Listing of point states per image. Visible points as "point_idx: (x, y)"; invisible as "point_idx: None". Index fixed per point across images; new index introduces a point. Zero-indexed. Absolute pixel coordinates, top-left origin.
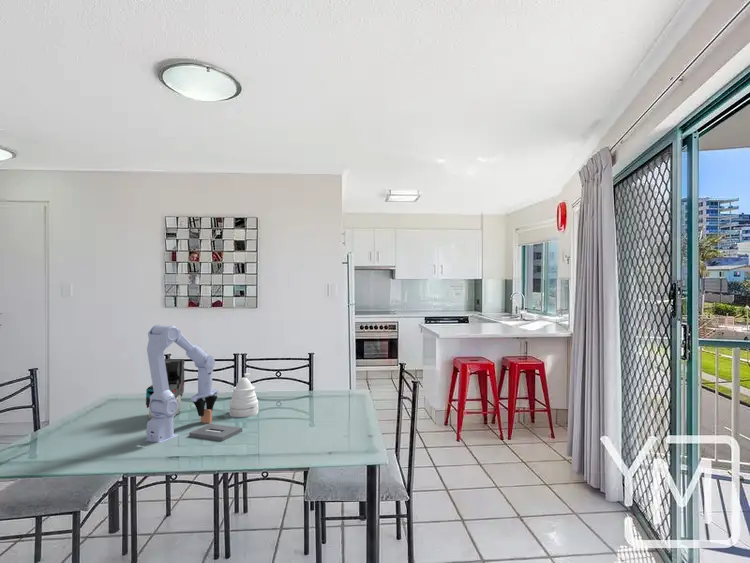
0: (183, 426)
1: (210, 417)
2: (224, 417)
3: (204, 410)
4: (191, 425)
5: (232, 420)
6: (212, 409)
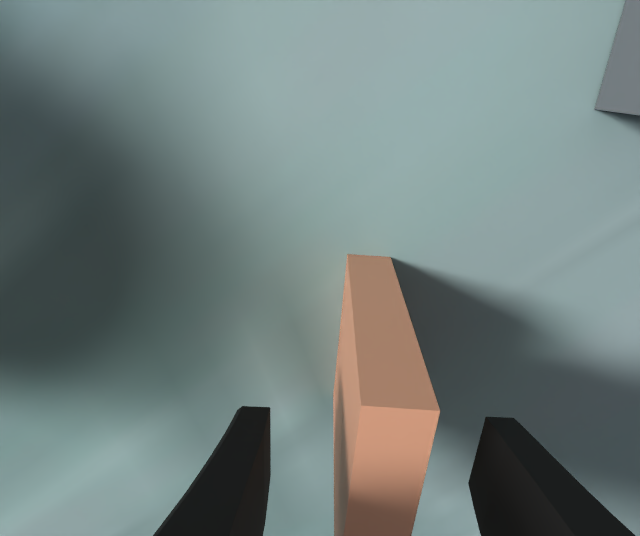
0: None
1: (390, 308)
2: (13, 270)
3: (408, 523)
4: (478, 438)
5: (56, 19)
6: (224, 446)
